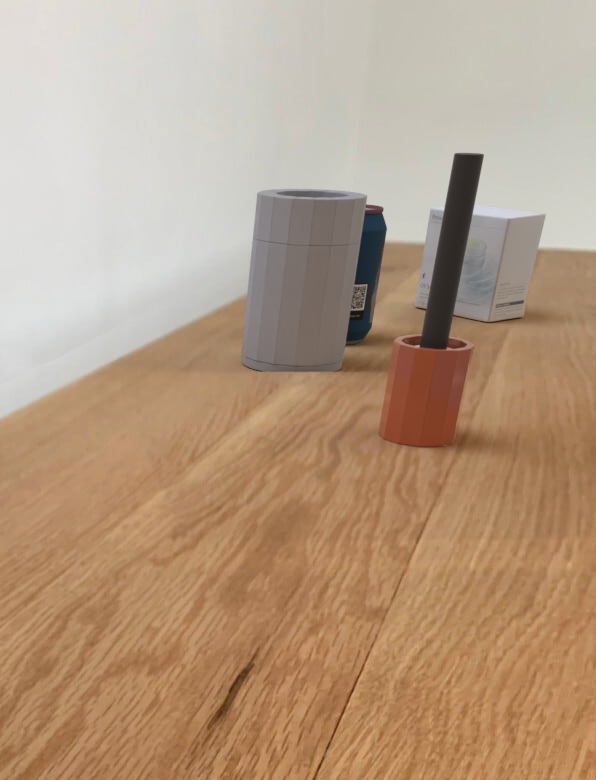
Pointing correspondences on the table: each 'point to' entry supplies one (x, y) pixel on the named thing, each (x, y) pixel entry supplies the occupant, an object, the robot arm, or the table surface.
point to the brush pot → (425, 392)
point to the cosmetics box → (488, 262)
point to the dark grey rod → (451, 249)
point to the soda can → (367, 274)
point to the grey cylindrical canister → (301, 279)
